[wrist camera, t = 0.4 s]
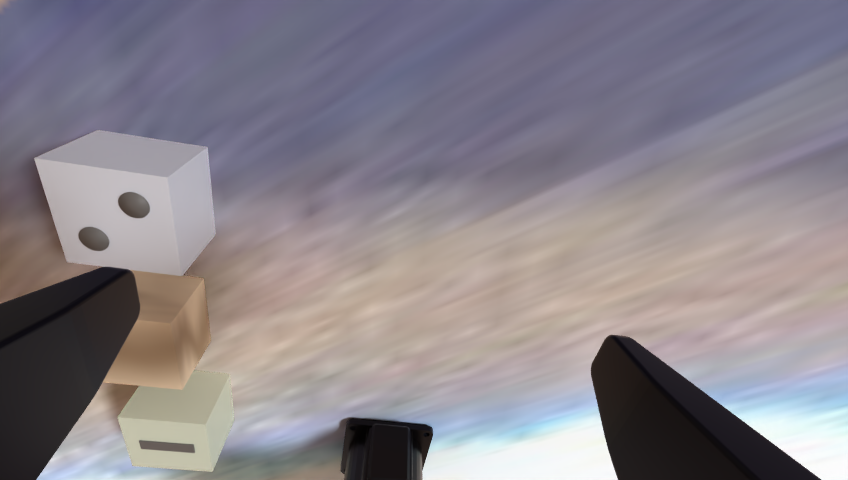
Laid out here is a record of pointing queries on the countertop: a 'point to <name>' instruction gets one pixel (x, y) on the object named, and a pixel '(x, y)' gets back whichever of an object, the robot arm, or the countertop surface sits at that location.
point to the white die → (130, 201)
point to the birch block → (164, 333)
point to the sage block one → (179, 423)
